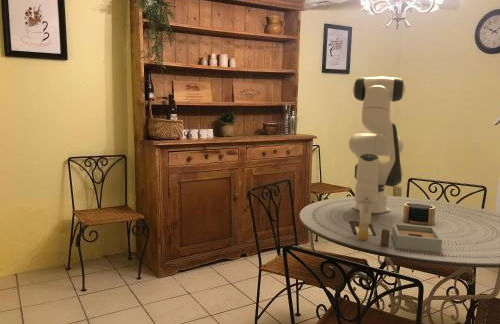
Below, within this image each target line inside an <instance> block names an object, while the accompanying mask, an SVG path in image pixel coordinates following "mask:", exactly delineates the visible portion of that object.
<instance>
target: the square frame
mask: <svg viewBox="0 0 500 324" xmlns="http://www.w3.org/2000/svg"><path fill="white" fill-rule="evenodd" d="M391 229H392V230H391V236H392V240H393V242H394V246H395V249H401V250H412V251H420V252H429V251H431V252H430V253H438V254H441V253H442V245H443V244H442V243H443V239H442V237H441V236H440V234H439V232H438V231H437V229H436V228H435V227H434V226H426V225H416V224H415V225H414V224H404V223H394V222H393V223H392V228H391Z"/></svg>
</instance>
